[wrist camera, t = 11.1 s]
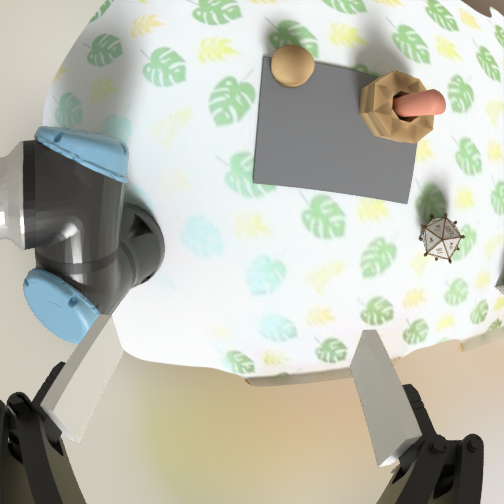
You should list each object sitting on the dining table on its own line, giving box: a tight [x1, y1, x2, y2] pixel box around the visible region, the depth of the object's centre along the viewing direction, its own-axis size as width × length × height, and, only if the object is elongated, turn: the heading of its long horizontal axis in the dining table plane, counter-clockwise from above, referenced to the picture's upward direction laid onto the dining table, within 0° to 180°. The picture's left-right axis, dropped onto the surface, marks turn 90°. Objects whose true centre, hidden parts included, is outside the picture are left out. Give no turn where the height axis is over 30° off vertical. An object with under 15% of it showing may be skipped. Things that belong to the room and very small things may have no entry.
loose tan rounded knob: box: [271, 45, 315, 88], centre depth 31 cm, size 6×6×5 cm
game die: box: [419, 213, 465, 264], centre depth 39 cm, size 9×8×10 cm
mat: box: [253, 57, 417, 204], centre depth 37 cm, size 26×20×1 cm
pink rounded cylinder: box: [392, 89, 446, 117], centre depth 28 cm, size 3×3×14 cm
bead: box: [359, 71, 434, 144], centre depth 32 cm, size 10×10×6 cm
